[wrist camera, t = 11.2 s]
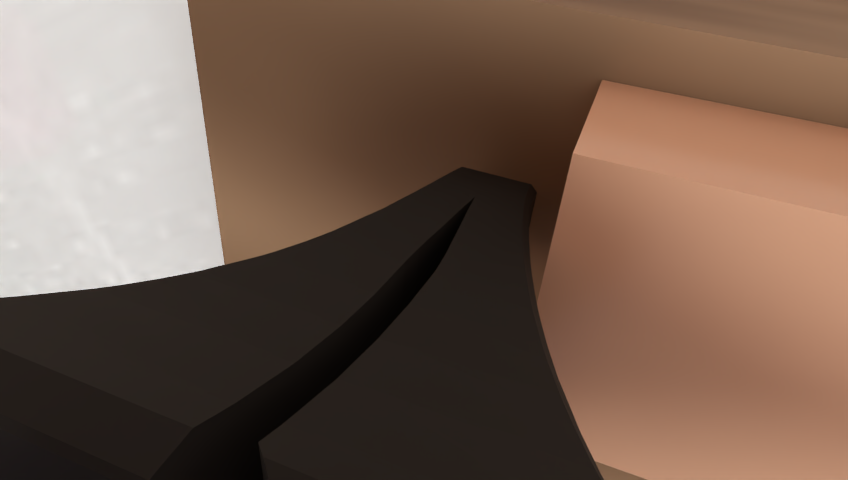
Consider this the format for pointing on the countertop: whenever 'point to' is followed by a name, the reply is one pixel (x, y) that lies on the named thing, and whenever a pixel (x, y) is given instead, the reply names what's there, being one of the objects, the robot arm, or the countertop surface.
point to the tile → (703, 290)
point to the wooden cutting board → (469, 95)
